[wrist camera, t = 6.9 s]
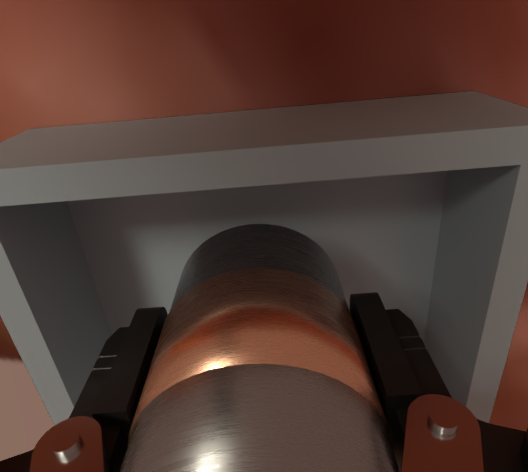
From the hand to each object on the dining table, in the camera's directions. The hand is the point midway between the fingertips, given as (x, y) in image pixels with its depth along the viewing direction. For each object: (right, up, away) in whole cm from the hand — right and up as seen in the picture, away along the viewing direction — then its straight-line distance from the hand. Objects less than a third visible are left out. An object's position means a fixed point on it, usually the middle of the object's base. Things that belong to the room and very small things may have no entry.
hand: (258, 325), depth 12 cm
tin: (0, +1, +1) cm, 2 cm away
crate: (0, 0, +7) cm, 7 cm away
